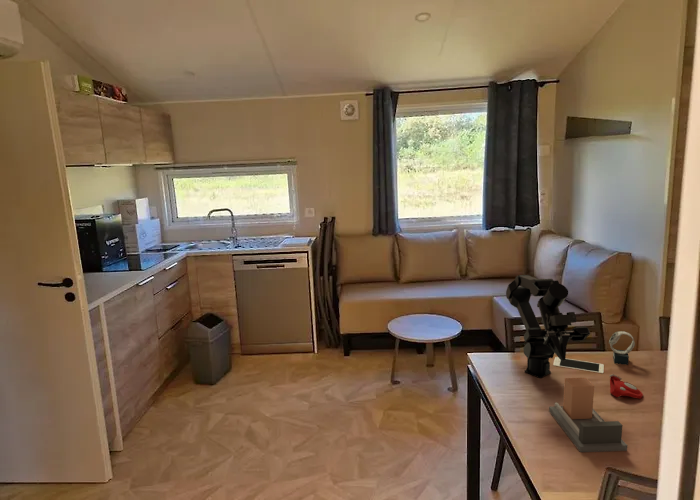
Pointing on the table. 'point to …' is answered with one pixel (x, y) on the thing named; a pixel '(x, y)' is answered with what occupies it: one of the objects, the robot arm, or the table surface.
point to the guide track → (575, 438)
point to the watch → (620, 355)
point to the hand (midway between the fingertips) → (563, 360)
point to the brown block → (578, 398)
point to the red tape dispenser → (623, 388)
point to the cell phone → (579, 365)
